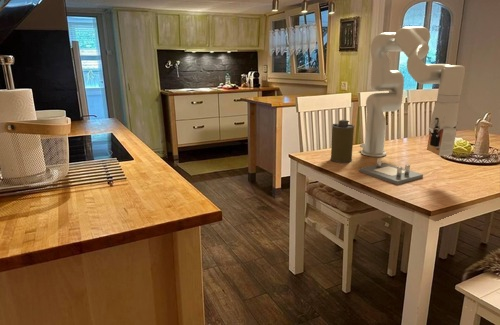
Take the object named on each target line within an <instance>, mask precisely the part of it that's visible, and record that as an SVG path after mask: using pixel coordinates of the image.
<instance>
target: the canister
mask: <svg viewBox="0 0 500 325" xmlns="http://www.w3.org/2000/svg"><path fill="white" fill-rule="evenodd" d="M349 122H350V121H349V120H347V119H340V120H339V121H338V123H332V125H331V128H332V129H331V130H332V131H331V151H330V152H331V153H330V160H331V161H332V162H334V163H338V164H346V163H347V164H348V163H351V162H352V161H353V159H352V158H353V144H354V143H353V142H354V129H355V125H354V124H349Z"/></svg>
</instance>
